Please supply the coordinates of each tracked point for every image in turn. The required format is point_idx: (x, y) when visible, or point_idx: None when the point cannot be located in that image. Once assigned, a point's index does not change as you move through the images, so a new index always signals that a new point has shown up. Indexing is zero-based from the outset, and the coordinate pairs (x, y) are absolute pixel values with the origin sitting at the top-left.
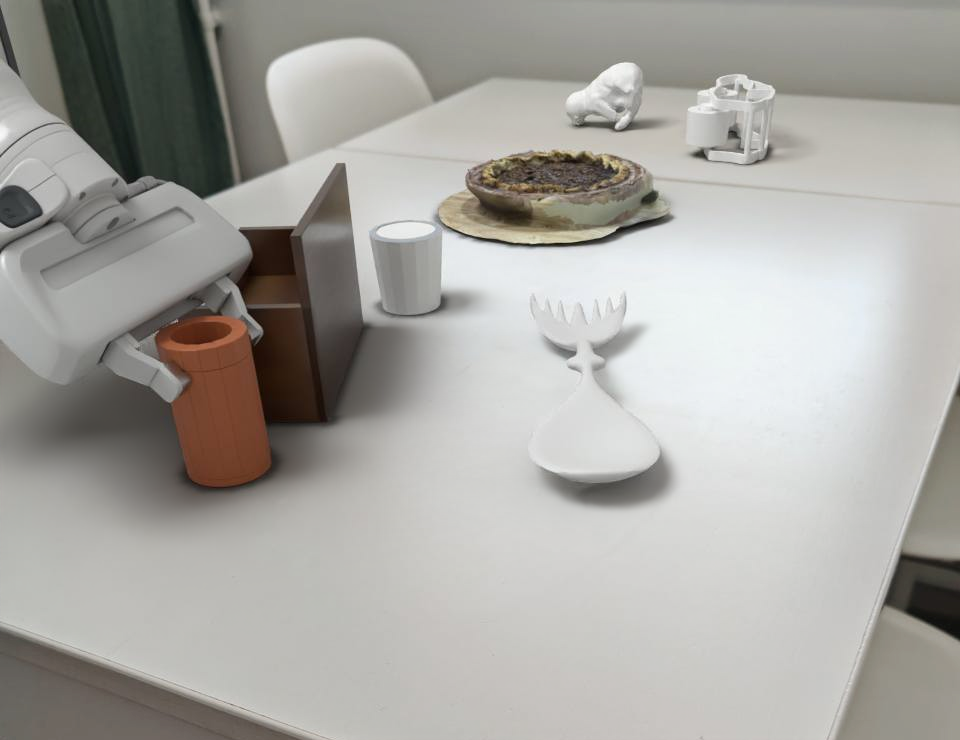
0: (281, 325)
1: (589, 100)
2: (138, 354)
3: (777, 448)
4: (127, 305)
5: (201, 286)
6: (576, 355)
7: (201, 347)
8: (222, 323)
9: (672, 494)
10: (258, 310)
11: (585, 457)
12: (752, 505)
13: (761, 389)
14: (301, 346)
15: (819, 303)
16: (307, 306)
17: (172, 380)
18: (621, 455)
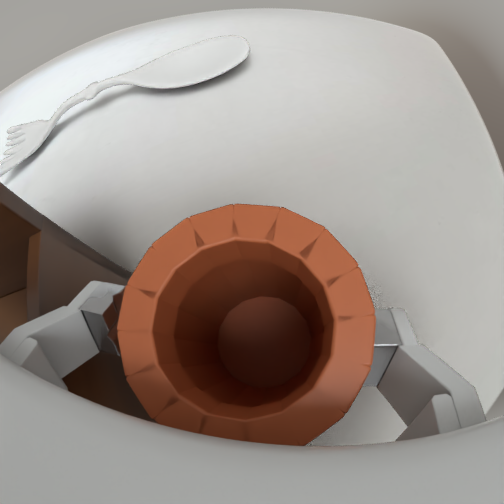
0: (60, 278)
1: None
2: (451, 379)
3: (171, 36)
4: (427, 490)
5: (53, 384)
6: (84, 94)
7: (341, 264)
8: (158, 304)
9: None
10: (42, 309)
11: (206, 63)
12: (230, 28)
13: (108, 60)
14: (80, 263)
15: (31, 88)
16: (41, 220)
17: (406, 317)
18: (203, 52)
